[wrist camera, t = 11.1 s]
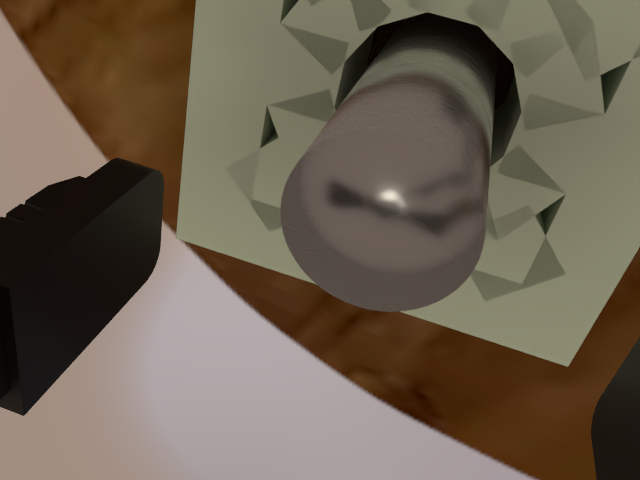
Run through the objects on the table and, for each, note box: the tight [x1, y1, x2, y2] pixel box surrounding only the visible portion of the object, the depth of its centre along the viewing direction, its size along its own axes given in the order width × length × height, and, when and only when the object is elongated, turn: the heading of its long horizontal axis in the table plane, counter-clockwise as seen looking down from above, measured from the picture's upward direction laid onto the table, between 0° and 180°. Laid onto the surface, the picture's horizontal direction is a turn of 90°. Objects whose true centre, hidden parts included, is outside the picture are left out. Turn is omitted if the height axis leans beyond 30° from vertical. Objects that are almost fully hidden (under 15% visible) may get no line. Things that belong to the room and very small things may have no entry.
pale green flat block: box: [176, 0, 640, 367], centre depth 19 cm, size 14×14×5 cm
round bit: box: [280, 12, 498, 312], centre depth 16 cm, size 4×4×12 cm
